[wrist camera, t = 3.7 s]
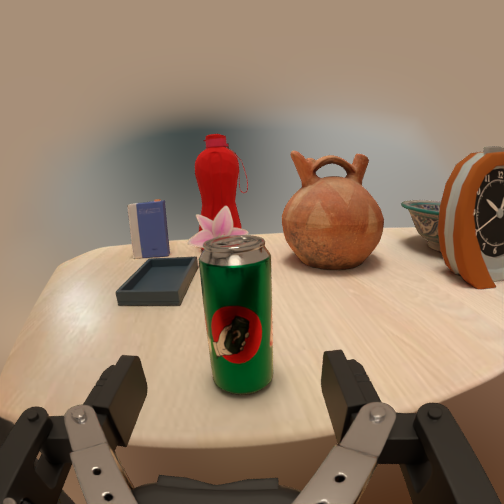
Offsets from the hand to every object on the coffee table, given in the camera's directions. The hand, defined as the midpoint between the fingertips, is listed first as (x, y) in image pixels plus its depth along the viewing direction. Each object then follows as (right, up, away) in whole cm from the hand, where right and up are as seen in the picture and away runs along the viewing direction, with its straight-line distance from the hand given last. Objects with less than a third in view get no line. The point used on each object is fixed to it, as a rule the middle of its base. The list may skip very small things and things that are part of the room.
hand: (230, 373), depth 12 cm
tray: (-13, 0, +35) cm, 38 cm away
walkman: (-21, +4, +52) cm, 56 cm away
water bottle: (-5, +6, +56) cm, 56 cm away
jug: (+16, +3, +43) cm, 46 cm away
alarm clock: (+43, +1, +29) cm, 52 cm away
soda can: (0, -6, +12) cm, 14 cm away
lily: (-5, +3, +46) cm, 47 cm away
